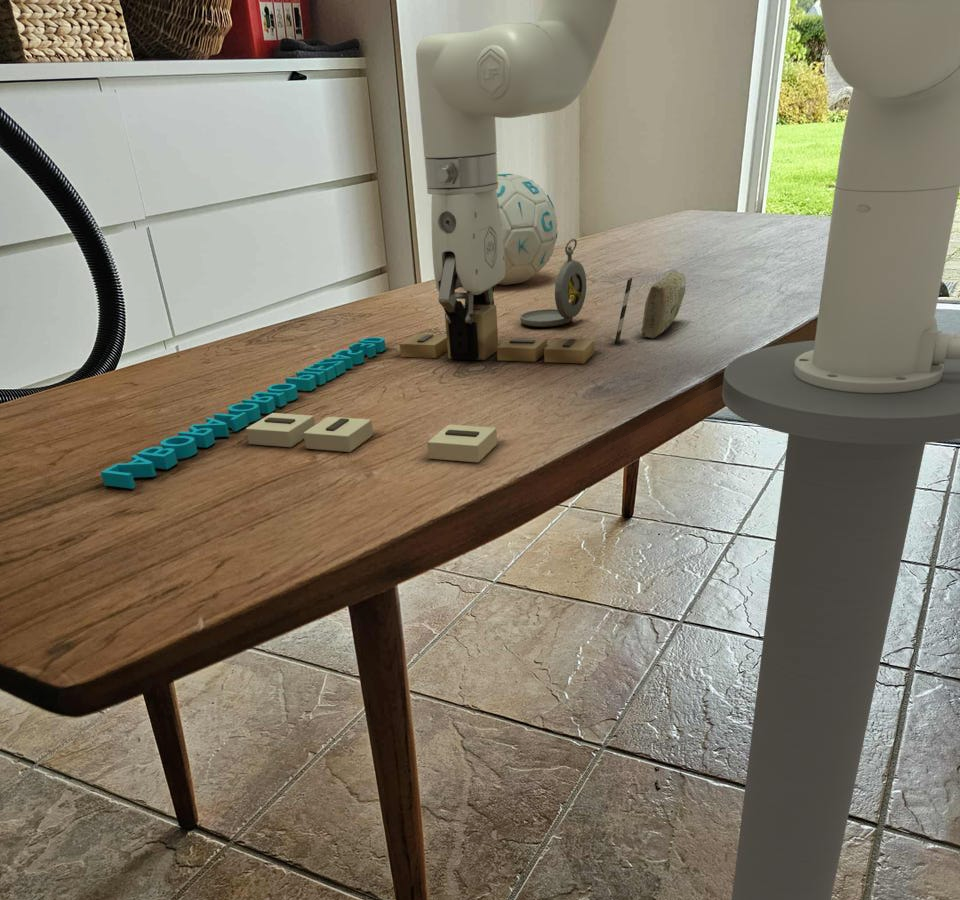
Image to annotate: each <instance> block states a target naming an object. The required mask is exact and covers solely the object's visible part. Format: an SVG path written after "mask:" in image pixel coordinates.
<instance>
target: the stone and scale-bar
mask: <svg viewBox="0 0 960 900" xmlns="http://www.w3.org/2000/svg"><path fill="white" fill-rule="evenodd" d="M632 282H633V277H630V278H628V279H627V282H626V285H625V291H624V297H623V301H622V306H621V311H620V316H619V320H618V326H617V331H616V334H615V335H616V336H615V340H614V345H617V344H618V343H619V342H620V340H621V335H622V330H623V325H624V321H625V316H626V311H627V307H628V302H629V297H630V291H631V287H632ZM686 284H687V283H686V276H685V274H684V273H681V272H679V271H678V270H675V269H672V270H671V271H669V273H667V274H666V275H665V276H663V277H662V278H661V279H658V280H657V281H656V282H655V283H653V284H652V285H651V286H650V289H649V291H648V294H647V297H646V299H645V303H644V311H643V318H642V326H641V336H642V337H643V338H649V339H654V338H656V337H658V336H659V335H661V334H662V333H663V332H664V331H666V330H667V329H669V327H670V326H671V325H672V324H673V322H674V321H675V320H676V318H677V316H678V314H679V311H680V308H681V305H682V302H683V301H684V300H683V299H684V296H685V293H686Z"/></svg>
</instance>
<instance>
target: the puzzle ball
mask: <svg viewBox="0 0 960 900" xmlns="http://www.w3.org/2000/svg"><path fill="white" fill-rule="evenodd" d="M496 191H497V196H498V202H499V208H500V216H501V224H502V235H503V246H504V258H505V276H504V278H503V280H502V281H501V282H499V283H498V284H497V285H503V286H509V285H516V284H522V283H525V282H528V281H529V280H530V279H532V278H533V277H534V276H536V275H537V274H538V273H539V272H540V271H541V270H542V269H543V268H544V267H545V266H546V265H547V264H548V263H549V261H550V259H551V257H552V256H553V254H554V250H555V245H556V242H557V239H558V233H559V232H558V220H557V214H556V210H555V207H554V203H553V201H552V199H551V198H550V196H549V195H548V194H547V193H546V192H545V190H544V188H542V187H541V186H540V185H539V184H537V183H536V182H534V181H533V179H530V178H528V177H526V176H522V175H519V174H514V173H498V189H496Z"/></svg>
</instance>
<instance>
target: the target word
mask: <svg viewBox="0 0 960 900" xmlns="http://www.w3.org/2000/svg"><path fill="white" fill-rule="evenodd" d="M315 421H316V420H315V416H314V415H311V414H297V413H283V412H282V413H279V412H271V413H269V414H267V415H266V416H265V417H263V418H260V419H258V420H257V421H255V422H254V423H253V424H251V425H249V426H246V428H245V432H246V437H247V442H248V444H249V445H256V446H269V447H280V448H292V447H294V446H296V445H297V444H298V443H300V442H302V441H304V445H305V449H306V450H319V451H331V452H332V451H333V452H343V453H344V452H345V453H351V452H352V451H354V450H355V449H356V448H358V447H360V446H361V445H362V444H363V443H365V442H366V441H367V440H369V439H370V438H371V437H373V436H374V429H373V421H372V419H369V418H356V417H355V418H354V417H343V416H342V417H341V416H327V417H326V418H323V419H322V420H321V421H319V422H318V423H316V422H315ZM497 445H498V432H497V427H494V426H493V427H491V426H477V425H463V424H447V425H446V426H444V428H443V429H441V430H440V431H438V432H437V433H436V434H435V435H434V436H433V437H431V438H430V439H429V440H428V441H427V450H428V459H430V460H443V461H452V462H453V461H454V462H455V461H456V462H465V463H466V462H467V463H480V462H481V461H482V460H483V459H484V458H485V457H486V456H487V455H488V454H489V453H490V452H491V451H492V450H493V449H494V448H495V447H496V446H497Z"/></svg>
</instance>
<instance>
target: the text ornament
mask: <svg viewBox="0 0 960 900" xmlns="http://www.w3.org/2000/svg"><path fill="white" fill-rule="evenodd" d="M385 339H386V338H384V337H380V336H377V337H376V336H372V337H371V336H370V337H366V338H362V339H360V340H358V341H357V342H355V343H352V344H350V345H349V346H348V349H341V350H337V351H335V353H332V354H331V357H326V358H322V359H320V360H318V361H317V362H315V363H313V364H310V365H308V366H307V367H304V368H303V369H301V370H299V371H296V372H295V377H289V376H287V377H285V379H284V380H285V382H283V383H275V384H271V385H269V386H267V387H266V391H264V390H259V391H257V392H255V393H254V394H252V395H250V398H251V399H248V398H243V399H242V400H241V402H238V403H234V404H232V405H230V406H228V407H227V413H217V412H216V413H214V414H213V418H212V417H207V418H205V423H195V424H193V425H191V426H188V431H183V430H181V431H179V432H177V435H174V436H170V437H166V438H164V439H162V440H161V441H160V446H151V447H148V448H145V449H143V450H140V451H139V452H138V453H136V454H133V455H131V456H130V458H131V459H130V460H131V461H129V462H120V463H119V462H118V463H116V464H114V465H111V466H110V467H108V468H106V469H104V470H102V471H100V474H101V478H102V482H103V484H104V486H108V487H109V486H110V487H117V488H124V489H134V488H135V487H136V483H135V479H136V478H154V477H155V476H157V473H156V469H161V470H168V469H171V468H172V467H174V466H175V465H177V464H178V459H185V458H189V457H192V456H194V455H196V454H197V453H198V449H197V448H198V447H199V448H207V449H208V447H211V446H212V445H214V444H215V443H216V440H215V438H223V437H225V438H227V437H229V436H230V431H229V429H231V431H232V432H238V431H240V430H241V429H243V428H245V427H248V425H249V426H250V424H249V423H252V422H257V421H259V420H261V419H262V417H261V414H267V415H270V414H271V413H273V412H275V410H276V406H277V407H278V408H282V407H284V406H285V405H287V404H288V402H291V401H295V400H297V399H298V398H299V395H298V391H307V392H310V391H311V392H312V391H313V390H315V389H316V388H317V385H318V386H322V385H324V384H326V383H327V382H329V381H332V380H333V379H334V378H336V377H338V376H340V375H342V374H344V373H345V372H347V370H348V369H353V368H354V366H353V365H360V364H362V363H364V362H365V356H367V358H372V357H375V356H377V353H382V352H383V351H386V350H387V346H386V340H385ZM134 478H135V479H134Z"/></svg>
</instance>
